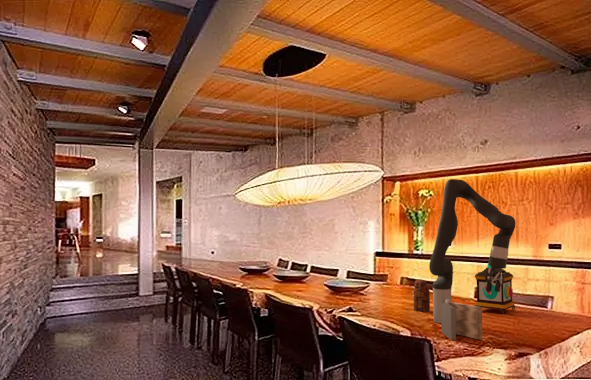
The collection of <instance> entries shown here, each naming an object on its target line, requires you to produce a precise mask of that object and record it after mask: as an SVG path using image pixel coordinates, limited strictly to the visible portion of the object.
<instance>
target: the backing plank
mask: <svg viewBox="0 0 591 380" xmlns="http://www.w3.org/2000/svg"><path fill="white" fill-rule="evenodd" d="M449 302H452V299H451V300H446V303H441V322H442V323H441V333H442V335H444V336H446V337H447V338H448V339H449V340H450V341H457V334H456V319H455V308H454V307H452V306H451V305H449Z"/></svg>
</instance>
